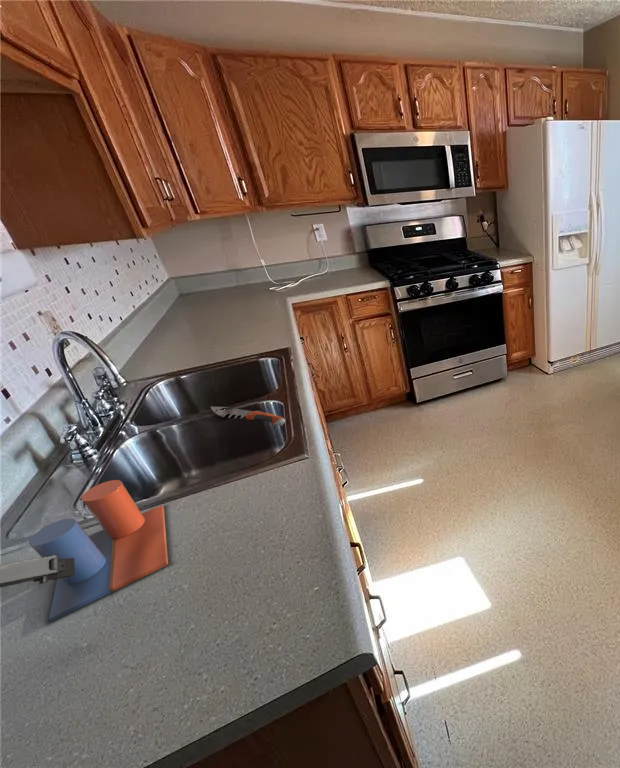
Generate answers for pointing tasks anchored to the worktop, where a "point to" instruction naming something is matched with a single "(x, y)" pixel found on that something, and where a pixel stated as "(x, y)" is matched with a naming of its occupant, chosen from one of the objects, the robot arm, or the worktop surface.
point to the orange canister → (114, 509)
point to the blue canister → (69, 548)
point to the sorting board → (117, 564)
